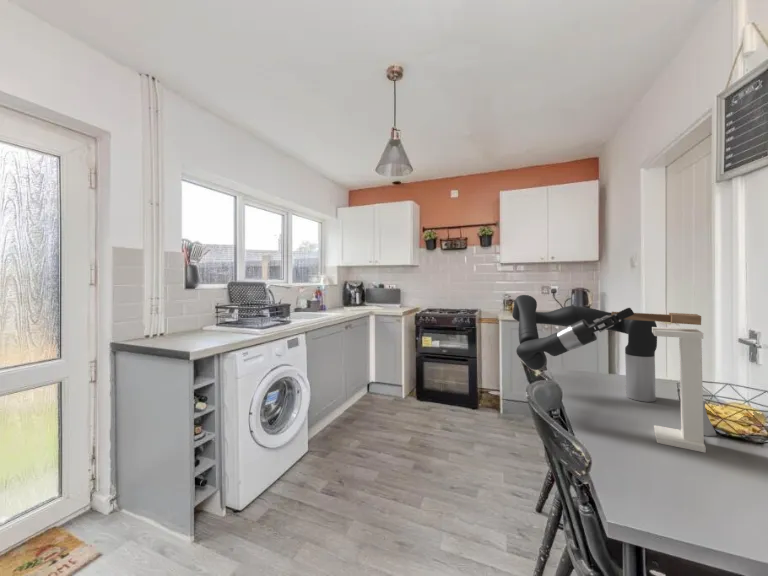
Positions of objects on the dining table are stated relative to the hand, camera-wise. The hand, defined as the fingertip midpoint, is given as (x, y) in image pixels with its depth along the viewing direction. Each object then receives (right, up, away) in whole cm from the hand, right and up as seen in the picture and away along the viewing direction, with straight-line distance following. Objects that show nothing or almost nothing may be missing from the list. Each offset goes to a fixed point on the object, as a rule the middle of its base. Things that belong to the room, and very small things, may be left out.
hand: (631, 310), depth 100 cm
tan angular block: (+5, -3, -3) cm, 7 cm away
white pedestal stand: (+9, -37, -6) cm, 39 cm away
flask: (+20, -37, 0) cm, 42 cm away
